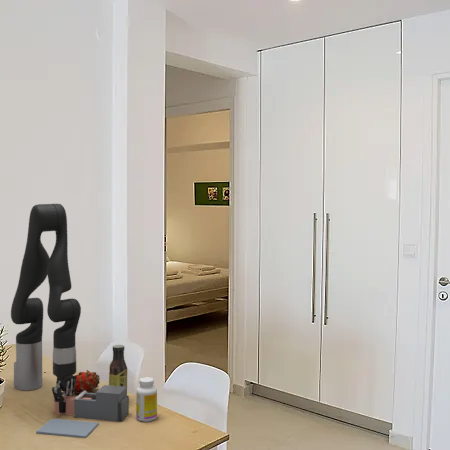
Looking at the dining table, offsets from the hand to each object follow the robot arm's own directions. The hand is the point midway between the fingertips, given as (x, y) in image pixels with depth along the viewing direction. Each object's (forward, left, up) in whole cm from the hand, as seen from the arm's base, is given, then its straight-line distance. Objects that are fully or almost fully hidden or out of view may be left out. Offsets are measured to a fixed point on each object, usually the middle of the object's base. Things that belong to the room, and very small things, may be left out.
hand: (64, 410), depth 189 cm
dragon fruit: (-1, +18, -1) cm, 19 cm away
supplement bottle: (+28, +1, -1) cm, 28 cm away
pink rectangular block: (+3, 0, -1) cm, 3 cm away
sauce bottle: (+14, +12, -1) cm, 18 cm away
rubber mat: (+7, -12, -1) cm, 14 cm away
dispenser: (+13, 0, -1) cm, 13 cm away
